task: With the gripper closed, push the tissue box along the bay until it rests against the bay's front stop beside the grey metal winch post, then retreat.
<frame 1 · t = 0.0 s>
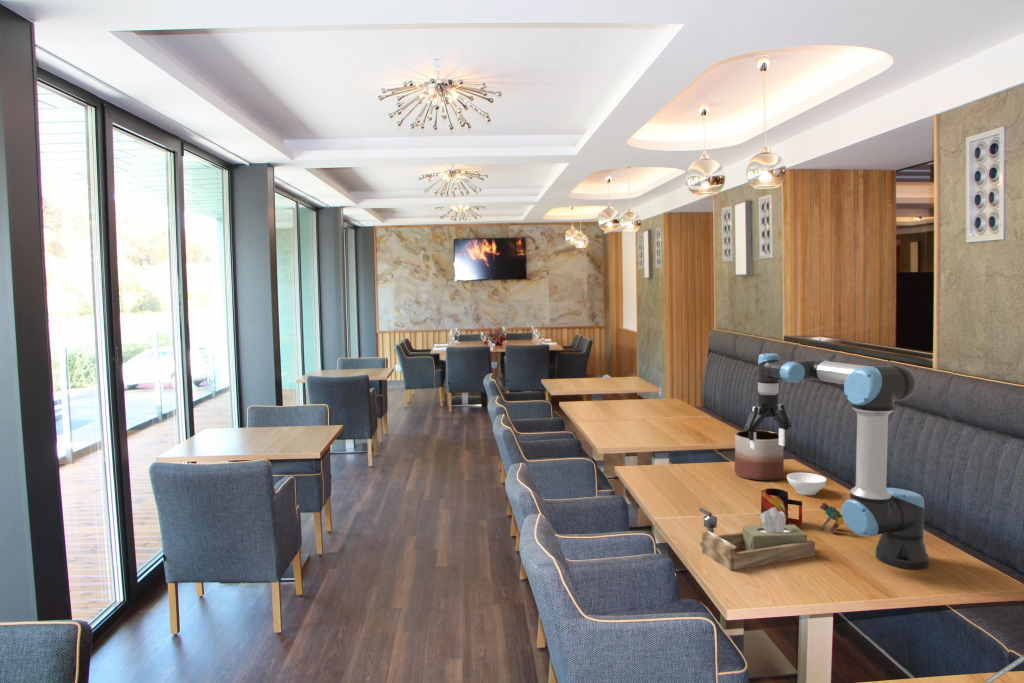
hand: (767, 447, 254), 28 cm above the table, fingers open, 13 cm apart
mug: (779, 523, 250), on the table
bay: (759, 553, 221), on the table
binoculars: (833, 531, 240), on the table
tissue box: (774, 553, 222), on the table, touching bay
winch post: (710, 546, 228), on the table
bowl: (806, 493, 286), on the table
planter: (758, 475, 314), on the table
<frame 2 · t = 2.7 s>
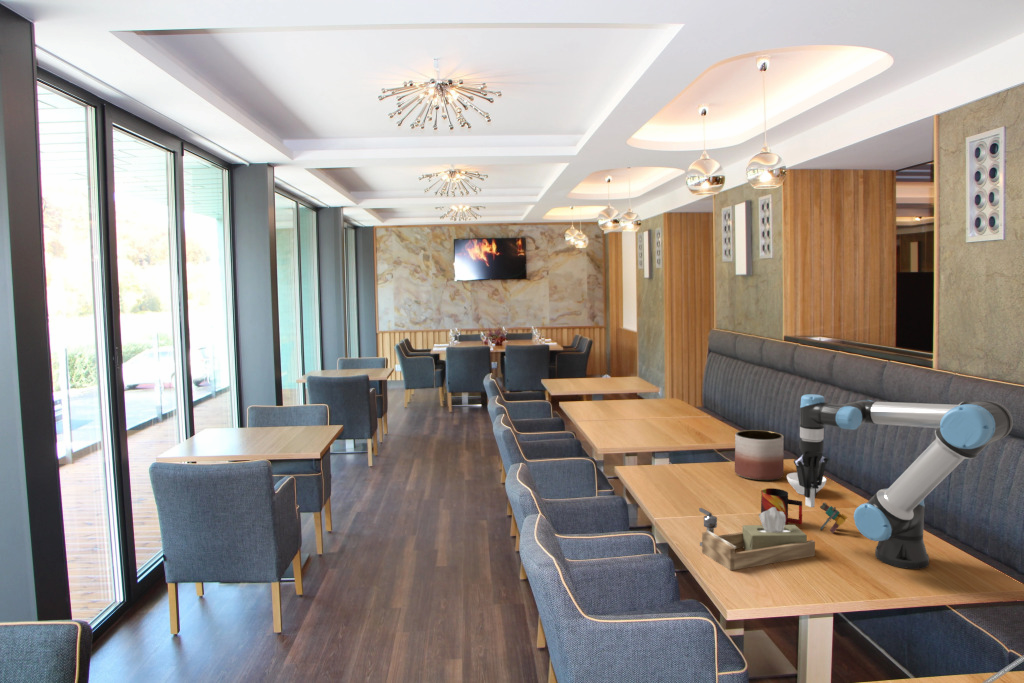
hand: (809, 505, 226), 14 cm above the table, fingers closed
nothing on the table moved.
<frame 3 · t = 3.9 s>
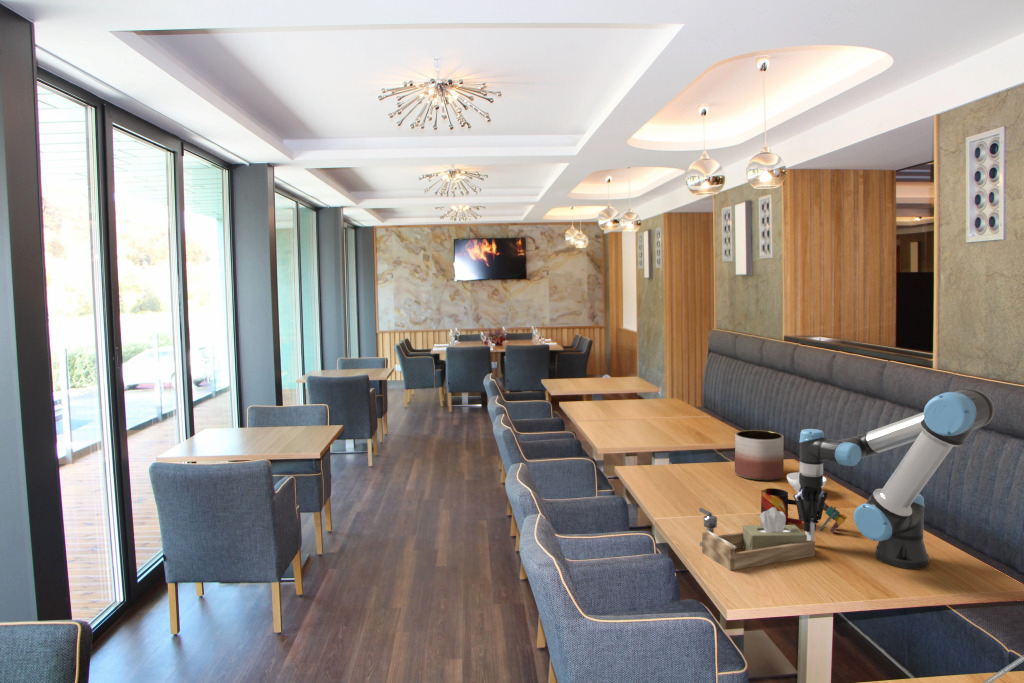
hand: (809, 540, 227), 2 cm above the table, fingers closed
nothing on the table moved.
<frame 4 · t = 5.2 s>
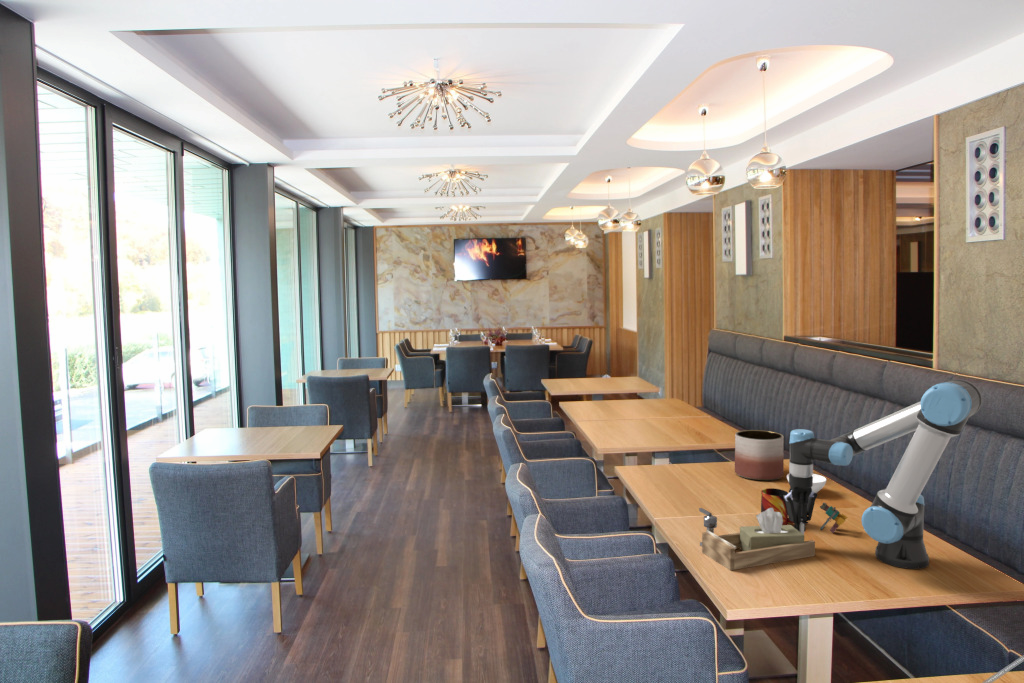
hand: (799, 540, 226), 2 cm above the table, fingers closed
tissue box: (771, 554, 222), on the table, touching gripper
everything else where it was.
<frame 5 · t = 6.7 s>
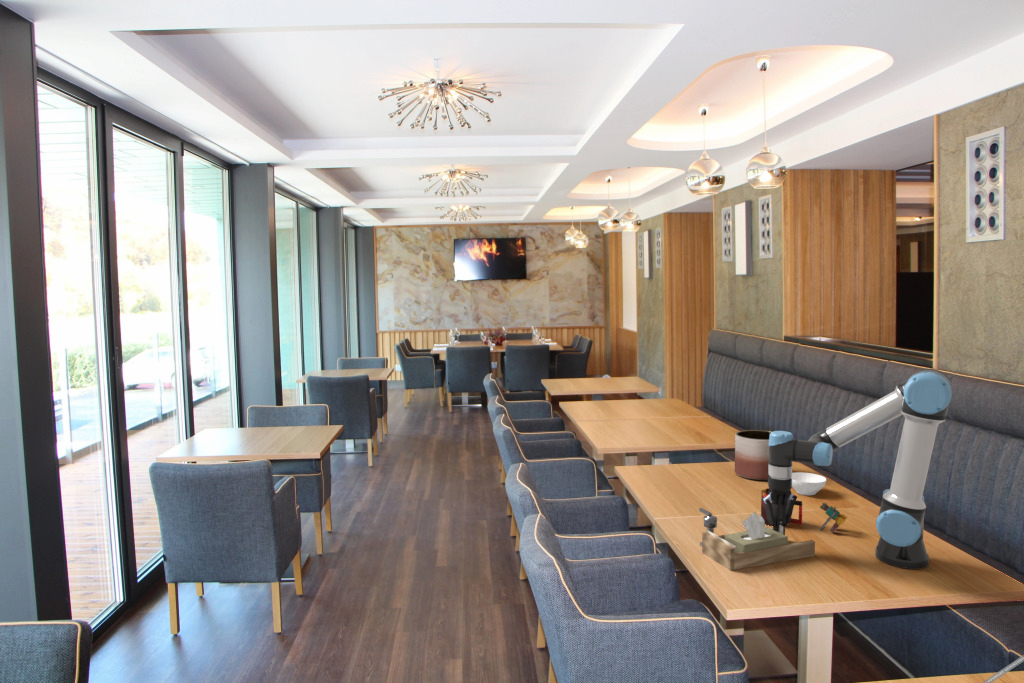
hand: (778, 543, 224), 2 cm above the table, fingers closed
tissue box: (755, 559, 218), on the table, touching bay
everything else where it was.
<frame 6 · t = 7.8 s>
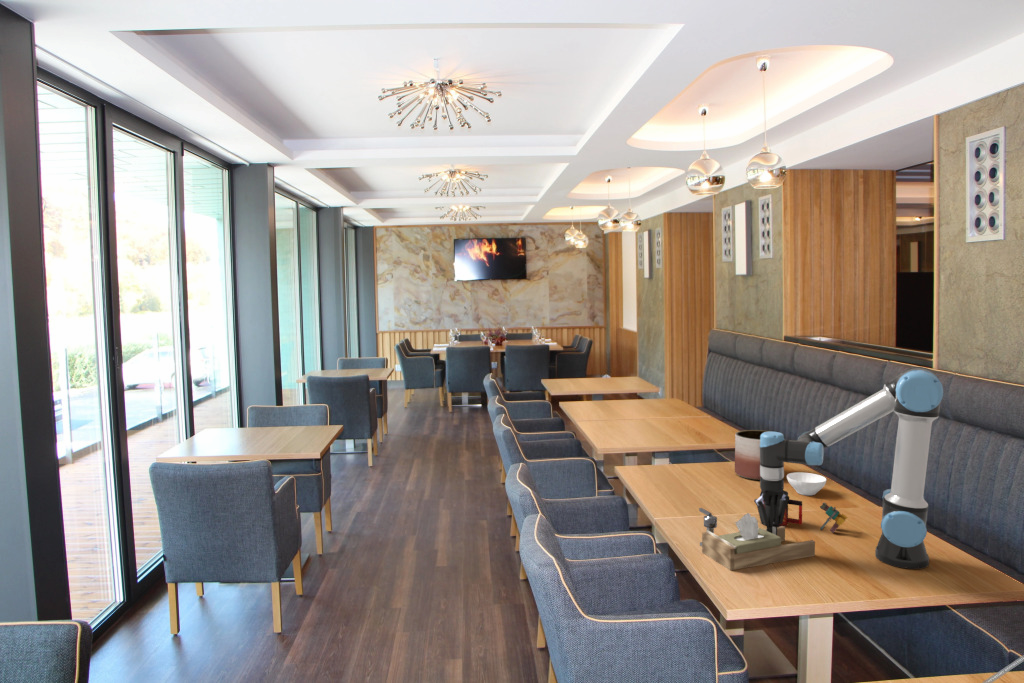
hand: (771, 544, 223), 2 cm above the table, fingers closed
tissue box: (749, 560, 217), on the table, touching bay, gripper
everything else where it was.
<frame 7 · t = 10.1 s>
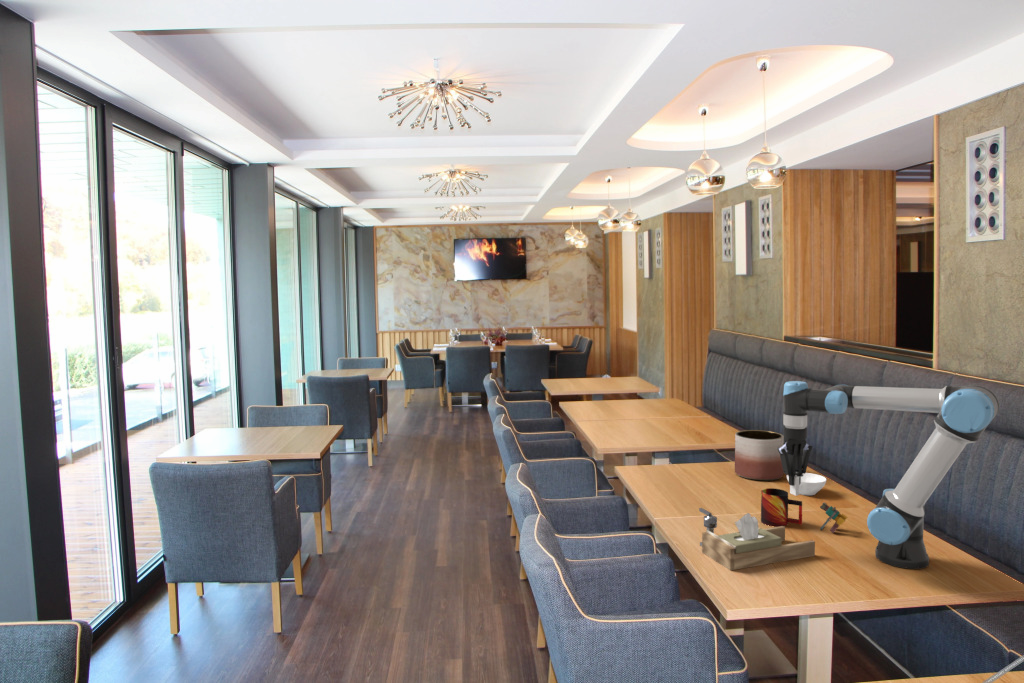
hand: (794, 494, 223), 19 cm above the table, fingers closed
tissue box: (749, 560, 217), on the table, touching bay
everything else where it was.
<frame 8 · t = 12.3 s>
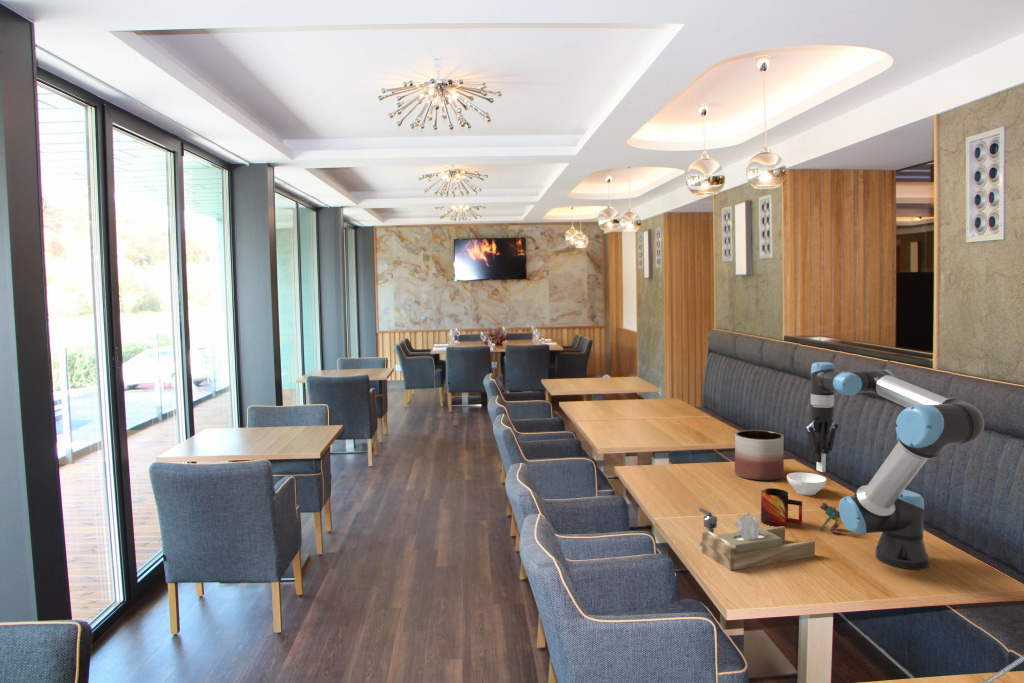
hand: (820, 470, 233), 24 cm above the table, fingers closed
nothing on the table moved.
at the end: tissue box inside the target area (2.4 cm from its centre), on the table; tissue box tilted 0° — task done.
